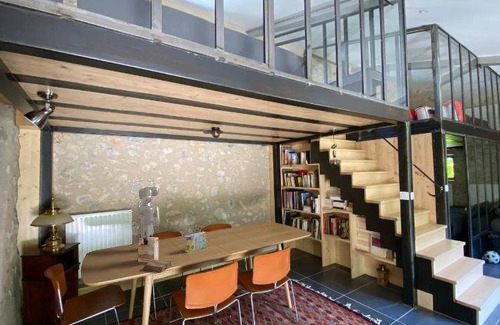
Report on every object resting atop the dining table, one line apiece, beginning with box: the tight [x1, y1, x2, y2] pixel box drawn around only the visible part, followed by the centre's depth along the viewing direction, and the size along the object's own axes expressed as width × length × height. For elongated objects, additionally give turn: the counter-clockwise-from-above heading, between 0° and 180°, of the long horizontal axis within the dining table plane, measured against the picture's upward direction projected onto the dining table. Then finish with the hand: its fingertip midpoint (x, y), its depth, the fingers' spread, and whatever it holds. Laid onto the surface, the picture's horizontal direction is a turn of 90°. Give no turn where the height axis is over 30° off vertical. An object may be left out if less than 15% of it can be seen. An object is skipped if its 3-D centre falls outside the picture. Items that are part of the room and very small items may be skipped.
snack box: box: [183, 231, 207, 254], centre depth 230 cm, size 21×6×15 cm, turn 135°
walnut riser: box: [143, 259, 172, 273], centre depth 189 cm, size 12×16×4 cm
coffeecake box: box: [137, 236, 159, 264], centre depth 203 cm, size 15×7×20 cm, turn 81°
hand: (148, 242), depth 203 cm, fingers closed on coffeecake box, 7 cm apart
